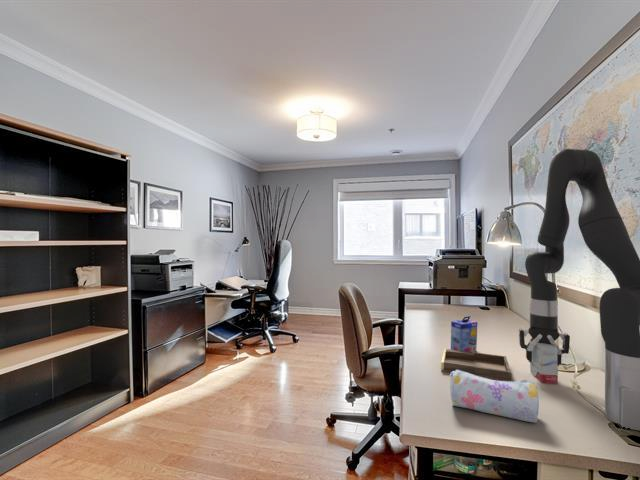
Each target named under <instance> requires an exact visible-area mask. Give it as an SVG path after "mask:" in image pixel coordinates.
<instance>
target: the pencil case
mask: <svg viewBox="0 0 640 480" xmlns="http://www.w3.org/2000/svg"><path fill="white" fill-rule="evenodd" d="M449 377H451V378H450V382H449V383H450V386H449V387H450V389H449V391H450V398H451V405H452V406H455V407H458V408H463V409H470V410H474V411H477V412H478V411H479V412H482V413H485V414H491V415H496V416H501V417H505V418H510V419H514V420H519V421H524V422H529V423H535V424H536V423H537V421H538V416H539V408H540V398H539V397H540V396H539V392H538V387H537V386H536V385H535V382H533V381H528V380H527V379H521V380H519V381H511V382H510V381H501V380H494V379H488V378H483V377H479V376H476V375H473V374H470V373H468V372H464V371H461V370H455V371H452V372H451V373H450V374H449Z"/></svg>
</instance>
